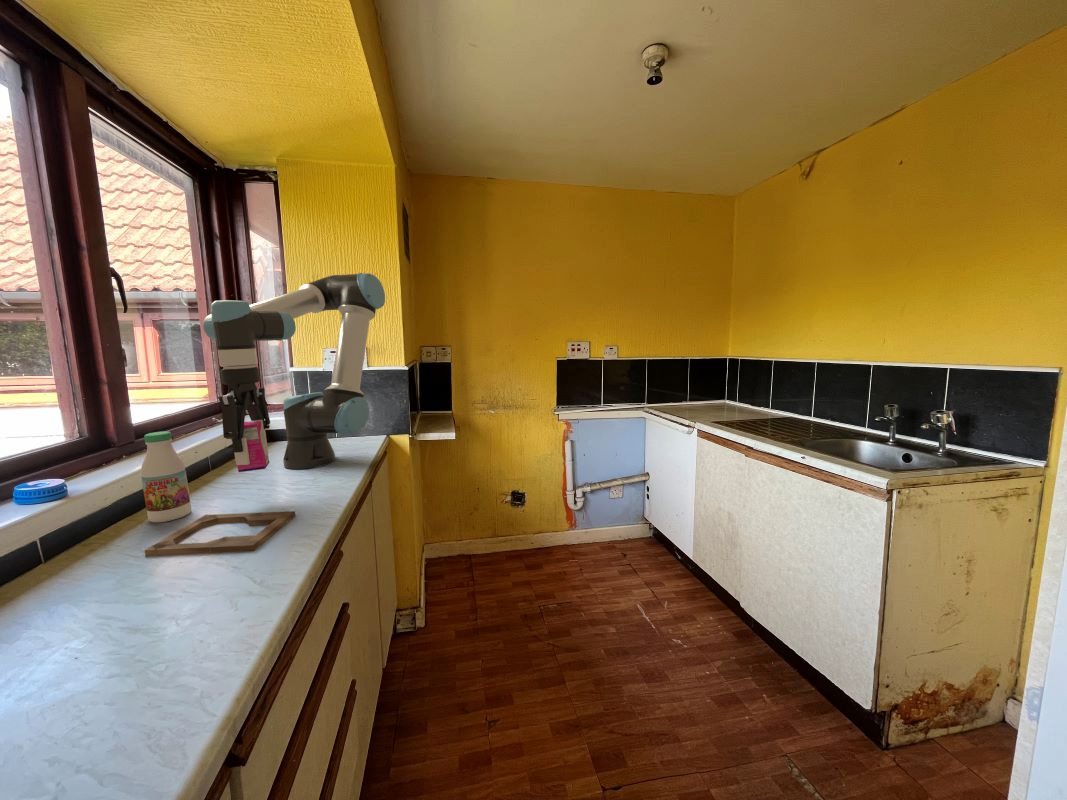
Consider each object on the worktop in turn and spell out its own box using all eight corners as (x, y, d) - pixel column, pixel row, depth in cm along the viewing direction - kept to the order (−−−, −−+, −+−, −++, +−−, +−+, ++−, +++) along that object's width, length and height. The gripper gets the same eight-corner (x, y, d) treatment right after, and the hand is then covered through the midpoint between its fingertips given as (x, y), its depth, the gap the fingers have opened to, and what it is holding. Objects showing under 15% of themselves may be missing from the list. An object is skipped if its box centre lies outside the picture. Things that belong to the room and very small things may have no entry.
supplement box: (242, 466, 105) (236, 421, 103) (270, 462, 107) (264, 419, 105) (236, 472, 100) (229, 426, 98) (265, 469, 102) (259, 423, 100)
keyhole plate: (205, 519, 95) (205, 514, 95) (296, 515, 96) (295, 510, 96) (144, 556, 79) (143, 550, 79) (253, 551, 80) (252, 545, 80)
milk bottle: (146, 517, 97) (132, 433, 94) (189, 507, 103) (177, 427, 100) (150, 526, 92) (135, 438, 89) (194, 515, 98) (182, 432, 95)
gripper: (249, 364, 109) (261, 448, 113) (191, 371, 89) (208, 473, 93) (278, 363, 109) (289, 447, 113) (227, 370, 89) (243, 472, 93)
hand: (253, 459), depth 103 cm, fingers closed on supplement box, 7 cm apart
